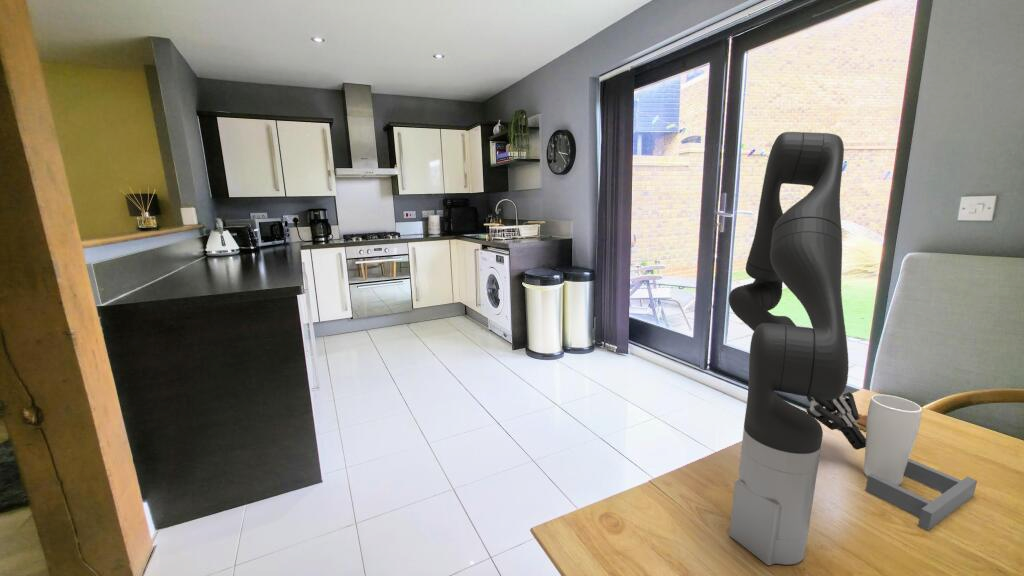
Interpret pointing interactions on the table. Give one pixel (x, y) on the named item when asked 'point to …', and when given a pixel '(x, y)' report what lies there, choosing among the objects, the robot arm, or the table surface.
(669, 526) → the table surface
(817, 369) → the robot arm
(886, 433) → the white cup
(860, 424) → the shard
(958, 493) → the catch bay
